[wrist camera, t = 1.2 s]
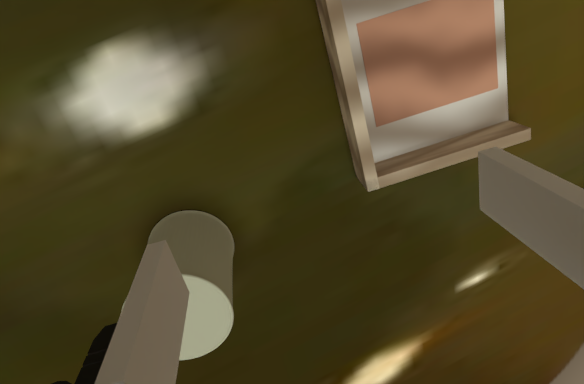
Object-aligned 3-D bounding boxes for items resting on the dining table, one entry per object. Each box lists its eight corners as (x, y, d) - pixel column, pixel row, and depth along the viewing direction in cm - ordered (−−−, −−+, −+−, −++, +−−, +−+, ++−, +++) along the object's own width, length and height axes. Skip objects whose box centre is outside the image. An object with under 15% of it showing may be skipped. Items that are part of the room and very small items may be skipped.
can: (230, 206, 41) (229, 272, 30) (237, 277, 45) (238, 359, 34) (141, 212, 40) (107, 283, 29) (155, 285, 44) (129, 371, 33)
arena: (309, -27, 33) (318, -33, 30) (495, -86, 34) (527, -99, 30) (356, 177, 42) (368, 191, 38) (505, 129, 42) (530, 139, 38)
